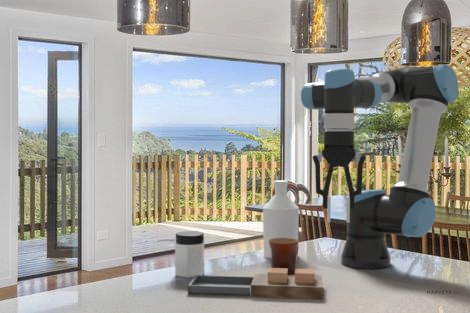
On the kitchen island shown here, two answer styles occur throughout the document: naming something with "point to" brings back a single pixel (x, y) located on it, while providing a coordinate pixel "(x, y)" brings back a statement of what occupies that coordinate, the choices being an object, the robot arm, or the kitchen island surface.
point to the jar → (189, 254)
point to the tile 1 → (278, 275)
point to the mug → (284, 253)
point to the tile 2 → (304, 276)
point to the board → (286, 288)
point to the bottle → (279, 217)
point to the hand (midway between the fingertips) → (338, 221)
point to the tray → (220, 285)
